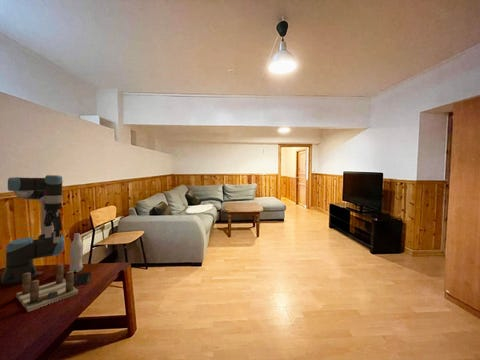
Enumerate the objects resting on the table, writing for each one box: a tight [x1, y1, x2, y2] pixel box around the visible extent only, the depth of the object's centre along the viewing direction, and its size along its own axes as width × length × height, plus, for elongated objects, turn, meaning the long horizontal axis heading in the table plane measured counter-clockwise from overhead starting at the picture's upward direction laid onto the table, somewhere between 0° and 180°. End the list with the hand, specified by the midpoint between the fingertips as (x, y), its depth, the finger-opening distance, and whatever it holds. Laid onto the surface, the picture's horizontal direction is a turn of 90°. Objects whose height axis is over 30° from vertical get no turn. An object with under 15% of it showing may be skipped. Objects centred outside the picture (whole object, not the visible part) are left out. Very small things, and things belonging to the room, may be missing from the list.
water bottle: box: [68, 232, 84, 273], centre depth 144 cm, size 7×7×25 cm
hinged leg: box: [30, 279, 58, 303], centre depth 110 cm, size 4×10×10 cm, turn 137°
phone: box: [73, 272, 92, 287], centre depth 135 cm, size 8×1×15 cm
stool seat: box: [16, 263, 79, 313], centre depth 116 cm, size 20×20×12 cm
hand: (52, 240), depth 125 cm, fingers open, 13 cm apart
